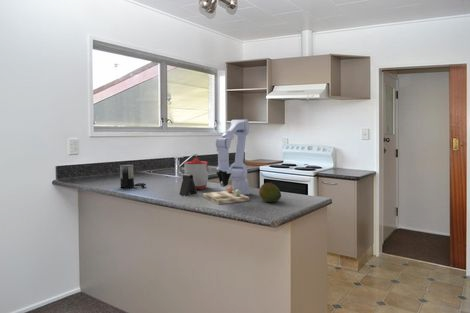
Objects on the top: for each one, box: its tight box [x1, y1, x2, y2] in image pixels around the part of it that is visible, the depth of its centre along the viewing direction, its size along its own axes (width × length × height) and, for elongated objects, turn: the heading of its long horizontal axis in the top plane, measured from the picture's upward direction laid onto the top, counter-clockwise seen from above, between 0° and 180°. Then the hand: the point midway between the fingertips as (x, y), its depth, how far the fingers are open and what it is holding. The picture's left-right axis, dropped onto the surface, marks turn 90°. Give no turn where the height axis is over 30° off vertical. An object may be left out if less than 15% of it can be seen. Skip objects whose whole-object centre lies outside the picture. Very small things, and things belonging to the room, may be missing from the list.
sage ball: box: [235, 189, 241, 196], centre depth 204 cm, size 4×4×4 cm
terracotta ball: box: [226, 186, 233, 192], centre depth 213 cm, size 4×4×4 cm
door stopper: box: [178, 173, 198, 197], centre depth 220 cm, size 9×6×12 cm, turn 138°
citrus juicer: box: [183, 157, 212, 190], centre depth 239 cm, size 16×17×20 cm
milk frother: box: [119, 164, 147, 189], centre depth 246 cm, size 14×16×15 cm
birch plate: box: [202, 190, 250, 205], centre depth 206 cm, size 18×22×2 cm
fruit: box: [258, 182, 282, 203], centre depth 196 cm, size 12×13×10 cm
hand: (223, 185), depth 199 cm, fingers closed on steel ball, 3 cm apart
